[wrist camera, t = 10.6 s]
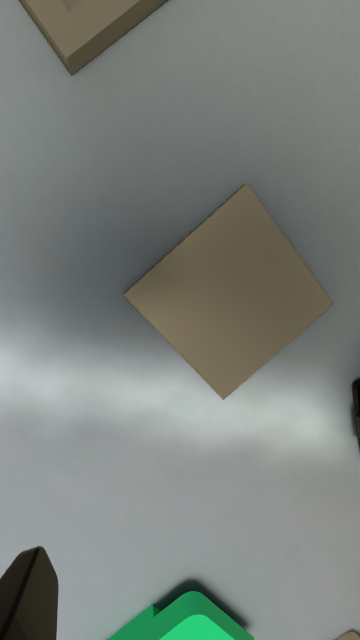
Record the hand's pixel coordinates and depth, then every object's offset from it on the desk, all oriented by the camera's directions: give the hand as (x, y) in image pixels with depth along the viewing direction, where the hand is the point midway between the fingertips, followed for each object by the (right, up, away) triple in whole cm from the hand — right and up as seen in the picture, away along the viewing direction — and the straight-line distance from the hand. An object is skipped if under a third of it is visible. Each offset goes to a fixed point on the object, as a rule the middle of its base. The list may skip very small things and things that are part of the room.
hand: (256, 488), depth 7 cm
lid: (+1, +5, +13) cm, 14 cm away
